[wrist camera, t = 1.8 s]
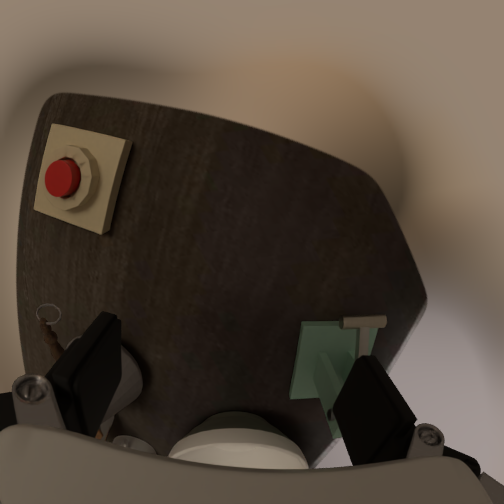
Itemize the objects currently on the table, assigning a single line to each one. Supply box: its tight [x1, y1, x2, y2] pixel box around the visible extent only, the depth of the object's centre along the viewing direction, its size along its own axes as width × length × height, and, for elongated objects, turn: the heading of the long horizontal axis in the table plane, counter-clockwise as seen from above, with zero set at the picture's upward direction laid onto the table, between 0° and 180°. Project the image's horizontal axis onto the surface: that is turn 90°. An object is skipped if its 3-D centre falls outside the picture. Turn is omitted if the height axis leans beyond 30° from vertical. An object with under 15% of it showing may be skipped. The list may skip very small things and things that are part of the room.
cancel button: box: [45, 160, 80, 197], centre depth 23 cm, size 4×4×2 cm
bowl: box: [168, 411, 308, 469], centre depth 35 cm, size 20×20×10 cm
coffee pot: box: [36, 304, 143, 440], centre depth 26 cm, size 21×12×15 cm, turn 165°
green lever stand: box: [289, 321, 378, 439], centre depth 30 cm, size 12×10×12 cm
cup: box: [113, 435, 156, 454], centre depth 35 cm, size 8×12×10 cm
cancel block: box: [34, 124, 133, 235], centre depth 26 cm, size 10×10×4 cm
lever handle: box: [339, 314, 387, 362], centre depth 27 cm, size 12×5×2 cm, turn 176°
